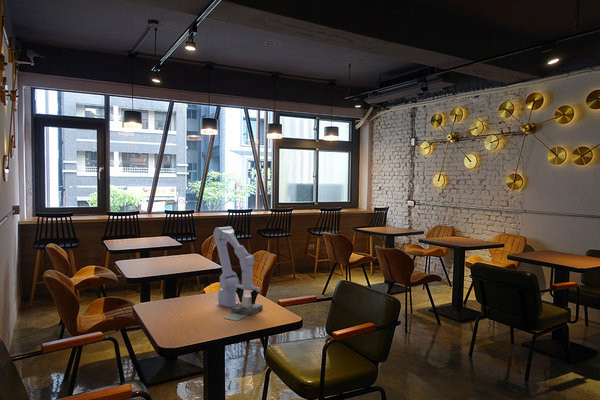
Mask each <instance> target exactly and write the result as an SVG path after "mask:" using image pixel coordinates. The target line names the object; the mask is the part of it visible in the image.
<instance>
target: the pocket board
mask: <svg viewBox="0 0 600 400" xmlns="http://www.w3.org/2000/svg"><path fill="white" fill-rule="evenodd" d="M263 307H264V306H263V304H260V303H255V304H254V305H252V307H250V308H243V307H242V303H239V304H237V305H235V306H233V307H230V308H231V313H230V314H233V313H234V314H240V315H245V316H250V317H252V316H254V315H256V314H257V313H259V312H261V311H262V310H263Z"/></svg>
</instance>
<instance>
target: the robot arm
mask: <svg viewBox="0 0 600 400" xmlns="http://www.w3.org/2000/svg"><path fill="white" fill-rule="evenodd" d="M213 238H214V242H215V244H216V247H217V248H216V249H217V252H218V258H219V263H220V265H221V270H222V274H220V275H219V286H220V288H219V291H218V295H217V296H218V299H217V306H222V307H228V308H229V307H230V308H233V307H235V306H237V305H239V304H241V303H242V297H243V296H244V293H245V291H251V292H250V296H251V298H252V305H254V304H256V301H257V297H258V295H259V293H260V291H261V287H260V286H259V287H258V286H256V285H254V283H253V282H254V280H253V279H254V276H253V273H254V271H253V270H254V269H253V268H254V267H253V266H254V265H255V263H256V258H255V257H254V254H251V253H249V252H248V251H247V249H246V248H245V246H244V245H242V244H240V243H239V241H238V239H237V238H236V236H235V230H234V229H233V227H232V226H221V227H218V226H217V227H215V228H214V230H213ZM227 243H229V244H230V246H232V247H233V250H234V254H235V256H237V258H238V259H239V265H240V269H241V284H240V280H239V277H238V276H237V275H238V274H237V273H236V272H235V271H233V269H232V264H231V260H230V256H229V252H228V246H227ZM226 277H228V278H226ZM237 298H238V302H237Z"/></svg>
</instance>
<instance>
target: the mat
mask: <svg viewBox="0 0 600 400" xmlns="http://www.w3.org/2000/svg"><path fill="white" fill-rule="evenodd" d="M245 317H247V315H242V314H236V313H230V314H229V315H227V316H225V317H223V320H228V321H229V320H230V321H235V322H239V321H240V320H242V319H244V318H245Z"/></svg>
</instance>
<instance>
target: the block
mask: <svg viewBox="0 0 600 400" xmlns="http://www.w3.org/2000/svg"><path fill="white" fill-rule="evenodd" d="M242 307H243V308H250V307H252V298H251V294H250V295H249V294H246V295H243V297H242Z"/></svg>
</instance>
